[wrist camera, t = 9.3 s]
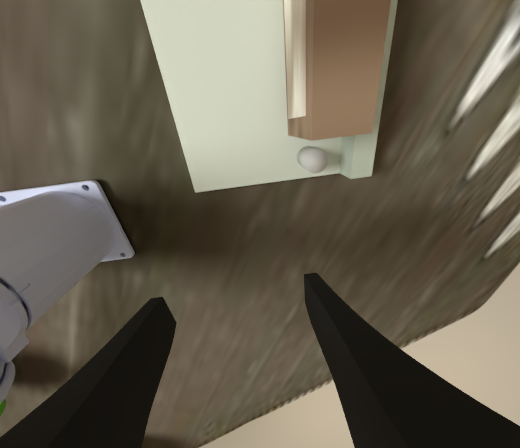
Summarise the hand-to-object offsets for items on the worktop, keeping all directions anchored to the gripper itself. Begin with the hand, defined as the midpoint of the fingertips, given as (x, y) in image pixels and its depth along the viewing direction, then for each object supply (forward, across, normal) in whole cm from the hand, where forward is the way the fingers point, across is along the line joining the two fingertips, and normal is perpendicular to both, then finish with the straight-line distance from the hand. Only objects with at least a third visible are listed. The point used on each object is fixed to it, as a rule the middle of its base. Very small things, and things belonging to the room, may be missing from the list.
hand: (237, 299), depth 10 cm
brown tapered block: (+9, -7, -11) cm, 16 cm away
